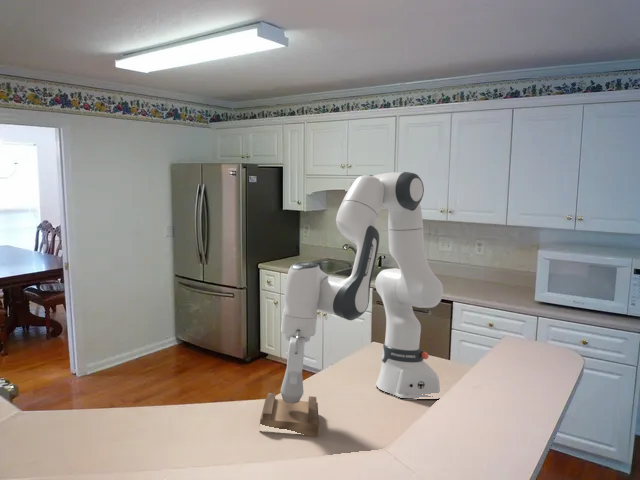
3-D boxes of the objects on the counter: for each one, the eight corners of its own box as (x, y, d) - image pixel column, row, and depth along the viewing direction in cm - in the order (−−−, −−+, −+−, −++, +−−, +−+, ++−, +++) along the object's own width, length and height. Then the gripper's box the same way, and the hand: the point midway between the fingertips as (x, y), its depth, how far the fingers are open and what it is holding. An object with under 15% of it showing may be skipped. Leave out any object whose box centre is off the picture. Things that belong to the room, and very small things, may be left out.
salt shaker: (299, 406, 114) (304, 354, 114) (277, 402, 116) (282, 350, 115) (304, 398, 120) (309, 348, 120) (283, 394, 121) (288, 345, 121)
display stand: (316, 413, 125) (318, 397, 125) (317, 436, 111) (319, 418, 111) (264, 409, 125) (266, 392, 125) (259, 431, 111) (260, 412, 111)
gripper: (311, 336, 107) (305, 396, 108) (311, 319, 128) (306, 369, 128) (284, 334, 107) (278, 393, 107) (288, 317, 128) (283, 367, 128)
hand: (293, 380), depth 118 cm, fingers closed on salt shaker, 3 cm apart
